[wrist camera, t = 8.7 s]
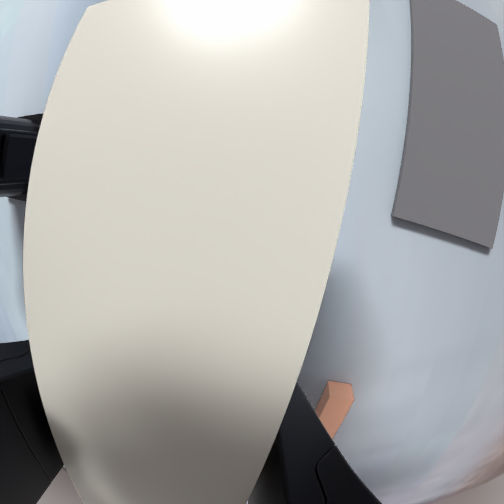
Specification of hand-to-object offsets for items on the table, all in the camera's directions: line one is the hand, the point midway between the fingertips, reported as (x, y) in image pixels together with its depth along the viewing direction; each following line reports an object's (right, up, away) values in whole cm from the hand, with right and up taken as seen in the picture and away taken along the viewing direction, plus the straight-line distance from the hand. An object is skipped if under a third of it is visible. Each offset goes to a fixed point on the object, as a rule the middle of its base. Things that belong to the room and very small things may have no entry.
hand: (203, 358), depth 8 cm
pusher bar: (0, 0, +1) cm, 2 cm away
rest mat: (+13, +12, +3) cm, 18 cm away
